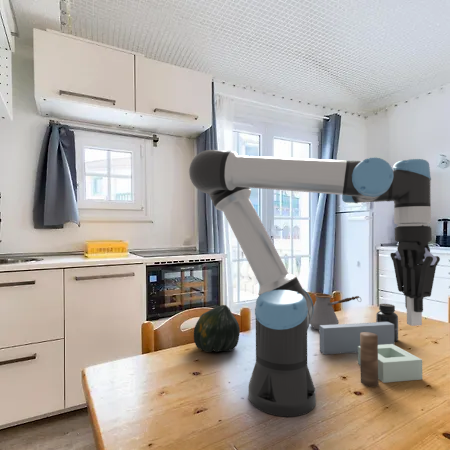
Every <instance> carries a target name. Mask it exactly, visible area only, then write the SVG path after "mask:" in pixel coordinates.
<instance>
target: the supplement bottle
mask: <svg viewBox="0 0 450 450" xmlns="http://www.w3.org/2000/svg"><path fill="white" fill-rule="evenodd" d="M378 306H379V307H378V310H379V311H377V312H376V314H375V315H376V316H375V318H376V319H375V322H390V323H392V324H394V343H397V342H398V341H399V316H398V314H397V313H395V311H396V310H395V309H396V306H395V305H394V304H390V303H379V305H378Z"/></svg>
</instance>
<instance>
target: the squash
mask: <svg viewBox="0 0 450 450" xmlns="http://www.w3.org/2000/svg"><path fill="white" fill-rule="evenodd" d="M240 330H241V329H240V324H239V322H238V320H237V318H236V317H235V316H234V314H233V313H232V311H231V309H230V308H229V307H228V306H227V305H226V304H221V305H218V306H216V307H213V308H211V309H209V310H208V311H206V312H204V313H203V314H201V315H200V316H199V318H198V319H197V321H196V323H195V326H194V327H193V341H194V344H195V346H196V347H197V349H199V350H201V351H204V352H206V353H212V352H213V351H215V352H217V353H219V352H224V351H226V352H228V351H229V352H230V351H232V350H235V348H236V347H237V346H238V343H239V339H240V335H241V334H240V333H241V331H240Z"/></svg>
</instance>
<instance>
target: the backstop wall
mask: <svg viewBox="0 0 450 450" xmlns="http://www.w3.org/2000/svg"><path fill="white" fill-rule="evenodd" d="M318 332H319V351H320V353H322V354H323V355H334V354H335V355H336V354H350V353H358V346H360V333H362V332H370V333H374V334H376V335H378V345H384V344H394V345H395V342H394V324H392V323H390V322H376V321H375V322H360V323H359V322H357V323H356V322H354V323H341V324H339V323H338V324H336V325H319V330H318Z"/></svg>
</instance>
